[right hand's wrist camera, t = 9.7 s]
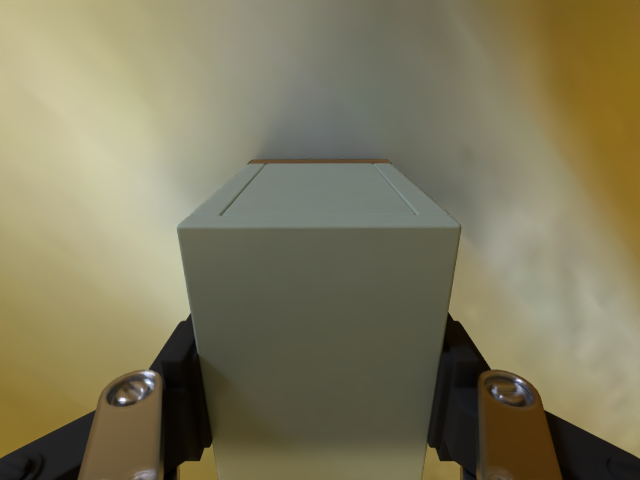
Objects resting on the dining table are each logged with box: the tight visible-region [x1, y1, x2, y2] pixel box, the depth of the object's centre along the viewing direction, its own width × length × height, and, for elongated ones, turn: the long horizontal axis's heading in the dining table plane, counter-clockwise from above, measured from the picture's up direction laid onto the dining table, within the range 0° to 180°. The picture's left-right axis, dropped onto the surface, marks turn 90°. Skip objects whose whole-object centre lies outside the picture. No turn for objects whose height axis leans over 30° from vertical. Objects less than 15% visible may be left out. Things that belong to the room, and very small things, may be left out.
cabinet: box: [177, 159, 461, 480], centre depth 15 cm, size 21×6×9 cm, turn 0°
